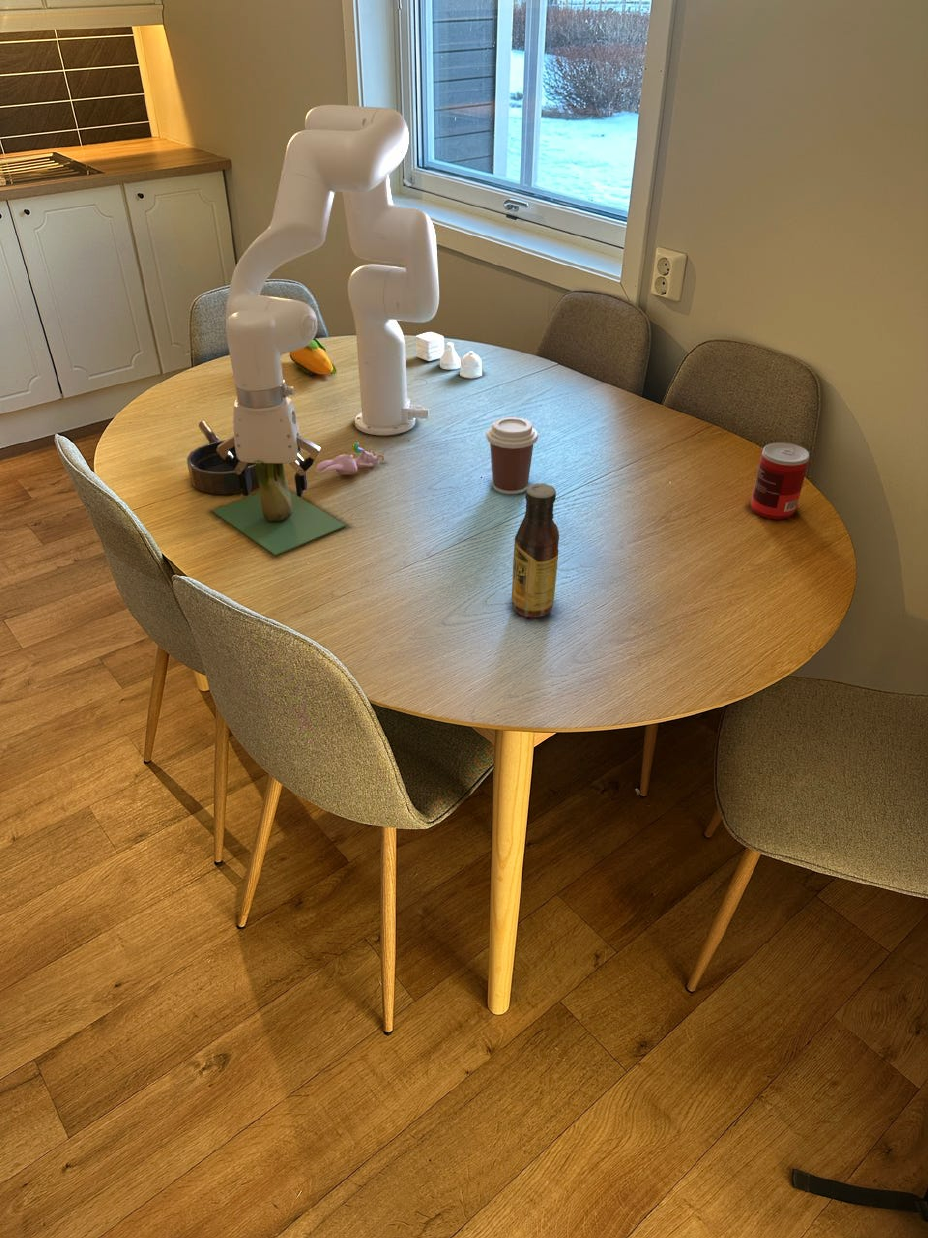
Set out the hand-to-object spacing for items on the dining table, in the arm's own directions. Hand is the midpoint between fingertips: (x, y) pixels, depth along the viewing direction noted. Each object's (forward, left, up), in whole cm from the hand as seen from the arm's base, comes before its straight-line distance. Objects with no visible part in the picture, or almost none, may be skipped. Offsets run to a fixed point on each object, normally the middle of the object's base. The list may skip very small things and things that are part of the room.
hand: (274, 492), depth 147 cm
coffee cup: (-40, -14, -5) cm, 43 cm away
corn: (+6, -71, -5) cm, 71 cm away
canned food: (-86, -7, -5) cm, 86 cm away
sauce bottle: (-43, +25, -5) cm, 50 cm away
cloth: (0, 0, -5) cm, 5 cm away
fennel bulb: (0, 0, -5) cm, 5 cm away
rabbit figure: (-10, -18, -5) cm, 21 cm away
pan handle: (+18, -26, -2) cm, 32 cm away
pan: (+12, -15, -5) cm, 20 cm away
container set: (-26, -76, -5) cm, 80 cm away
